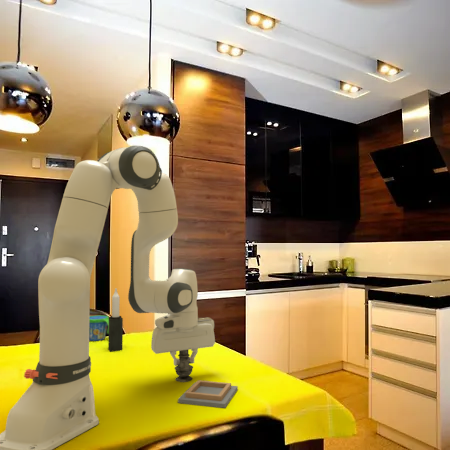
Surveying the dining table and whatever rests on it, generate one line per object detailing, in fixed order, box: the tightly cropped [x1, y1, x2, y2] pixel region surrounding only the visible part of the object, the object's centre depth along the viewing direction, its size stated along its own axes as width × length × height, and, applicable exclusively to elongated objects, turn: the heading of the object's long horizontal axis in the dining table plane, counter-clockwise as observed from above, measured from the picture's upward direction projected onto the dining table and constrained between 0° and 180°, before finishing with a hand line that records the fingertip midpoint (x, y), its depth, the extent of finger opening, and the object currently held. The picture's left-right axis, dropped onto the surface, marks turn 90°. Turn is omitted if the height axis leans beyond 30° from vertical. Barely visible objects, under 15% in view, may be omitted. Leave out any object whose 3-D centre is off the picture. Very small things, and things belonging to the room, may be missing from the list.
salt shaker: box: [174, 350, 194, 383], centre depth 118 cm, size 6×6×12 cm
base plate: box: [177, 379, 239, 409], centre depth 103 cm, size 13×13×2 cm
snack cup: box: [89, 315, 110, 342], centre depth 172 cm, size 16×10×10 cm
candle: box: [107, 288, 124, 353], centre depth 154 cm, size 5×5×25 cm
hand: (184, 364), depth 117 cm, fingers closed on salt shaker, 3 cm apart
